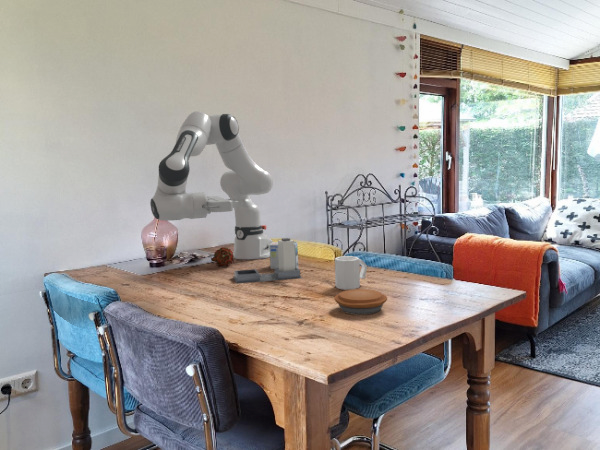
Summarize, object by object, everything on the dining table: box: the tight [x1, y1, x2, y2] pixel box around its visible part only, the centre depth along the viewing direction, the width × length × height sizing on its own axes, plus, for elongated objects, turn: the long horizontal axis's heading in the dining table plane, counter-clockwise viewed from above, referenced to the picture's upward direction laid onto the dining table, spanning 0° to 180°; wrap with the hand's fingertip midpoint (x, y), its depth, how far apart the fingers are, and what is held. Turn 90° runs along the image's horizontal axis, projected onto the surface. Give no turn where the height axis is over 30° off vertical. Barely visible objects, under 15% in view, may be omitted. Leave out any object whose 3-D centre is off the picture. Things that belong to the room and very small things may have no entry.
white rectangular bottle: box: [277, 237, 295, 271], centre depth 208 cm, size 4×4×14 cm
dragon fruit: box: [210, 246, 235, 267], centre depth 236 cm, size 8×8×12 cm
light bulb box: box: [269, 241, 299, 270], centre depth 224 cm, size 11×7×11 cm, turn 84°
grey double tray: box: [232, 266, 303, 285], centre depth 207 cm, size 24×12×4 cm, turn 103°
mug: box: [334, 255, 368, 291], centre depth 194 cm, size 12×9×10 cm
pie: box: [333, 288, 388, 315], centre depth 165 cm, size 16×16×5 cm
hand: (238, 202), depth 200 cm, fingers open, 8 cm apart
